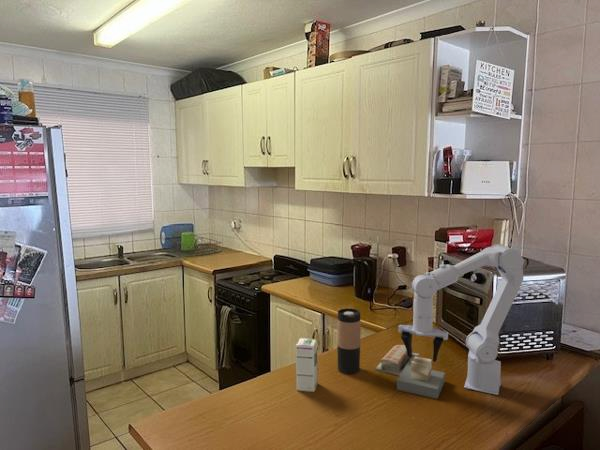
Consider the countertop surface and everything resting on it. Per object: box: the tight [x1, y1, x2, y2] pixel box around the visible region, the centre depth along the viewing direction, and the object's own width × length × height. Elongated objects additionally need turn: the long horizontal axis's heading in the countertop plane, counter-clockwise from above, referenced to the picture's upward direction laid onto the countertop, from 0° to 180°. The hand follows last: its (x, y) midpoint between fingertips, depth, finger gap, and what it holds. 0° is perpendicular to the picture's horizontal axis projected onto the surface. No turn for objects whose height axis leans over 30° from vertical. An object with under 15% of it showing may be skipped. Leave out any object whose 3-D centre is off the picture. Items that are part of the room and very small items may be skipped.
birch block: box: [411, 356, 433, 382], centre depth 133 cm, size 5×5×5 cm
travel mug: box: [336, 308, 361, 375], centre depth 143 cm, size 8×8×20 cm
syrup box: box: [295, 337, 319, 393], centre depth 132 cm, size 6×6×14 cm
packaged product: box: [374, 344, 420, 377], centre depth 149 cm, size 18×5×10 cm
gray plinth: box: [396, 365, 446, 400], centre depth 133 cm, size 12×12×3 cm
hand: (422, 358), depth 132 cm, fingers open, 7 cm apart
